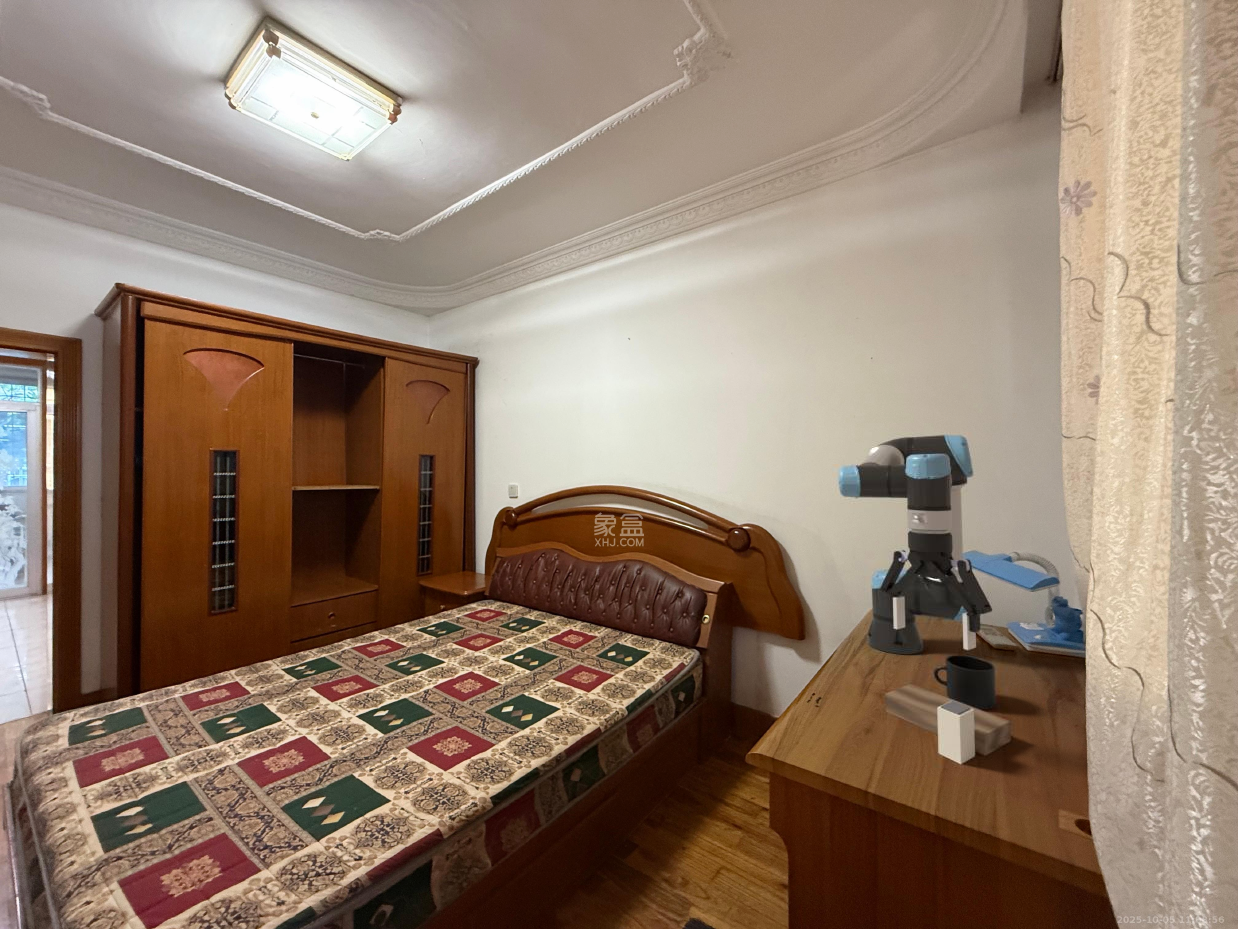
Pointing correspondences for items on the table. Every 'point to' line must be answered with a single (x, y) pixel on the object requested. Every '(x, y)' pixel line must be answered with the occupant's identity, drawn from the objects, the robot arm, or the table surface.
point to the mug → (969, 681)
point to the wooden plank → (923, 713)
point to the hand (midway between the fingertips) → (932, 637)
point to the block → (956, 732)
